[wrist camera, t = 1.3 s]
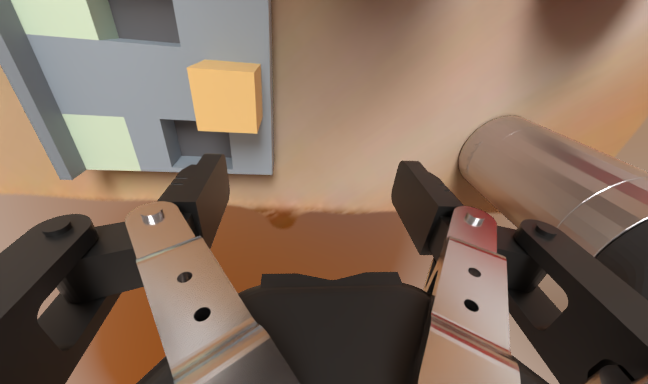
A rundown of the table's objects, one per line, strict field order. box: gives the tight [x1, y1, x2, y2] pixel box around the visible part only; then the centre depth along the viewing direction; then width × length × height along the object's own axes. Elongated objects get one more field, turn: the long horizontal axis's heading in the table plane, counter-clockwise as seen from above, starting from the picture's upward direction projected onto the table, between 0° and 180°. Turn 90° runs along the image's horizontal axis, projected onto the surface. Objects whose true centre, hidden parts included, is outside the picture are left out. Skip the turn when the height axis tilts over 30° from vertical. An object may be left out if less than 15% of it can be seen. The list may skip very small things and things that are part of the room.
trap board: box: [0, 0, 274, 180], centre depth 23 cm, size 19×17×5 cm
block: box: [187, 59, 263, 134], centre depth 21 cm, size 4×4×4 cm
